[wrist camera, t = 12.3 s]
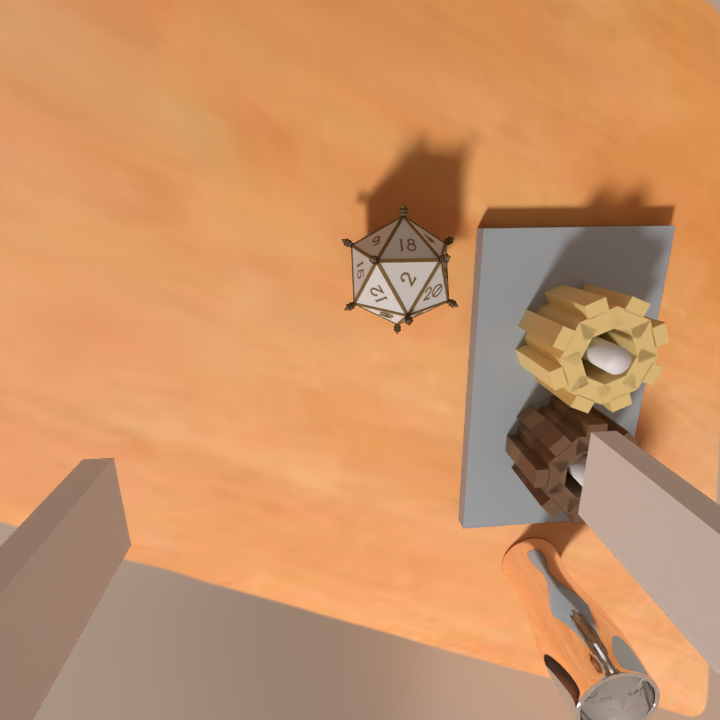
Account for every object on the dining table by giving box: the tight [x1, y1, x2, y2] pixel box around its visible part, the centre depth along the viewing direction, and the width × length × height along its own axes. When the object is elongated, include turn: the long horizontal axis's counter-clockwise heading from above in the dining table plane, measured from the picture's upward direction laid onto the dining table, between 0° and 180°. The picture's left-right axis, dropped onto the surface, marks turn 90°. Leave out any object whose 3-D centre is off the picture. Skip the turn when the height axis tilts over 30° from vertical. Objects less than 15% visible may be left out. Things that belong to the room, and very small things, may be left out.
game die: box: [341, 203, 458, 334], centre depth 34 cm, size 9×8×10 cm
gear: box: [516, 284, 669, 413], centre depth 36 cm, size 9×9×6 cm
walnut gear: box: [505, 395, 640, 524], centre depth 39 cm, size 9×9×6 cm
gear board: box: [459, 225, 675, 528], centre depth 38 cm, size 28×16×8 cm, turn 1°
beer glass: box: [502, 538, 660, 720], centre depth 41 cm, size 7×7×15 cm
